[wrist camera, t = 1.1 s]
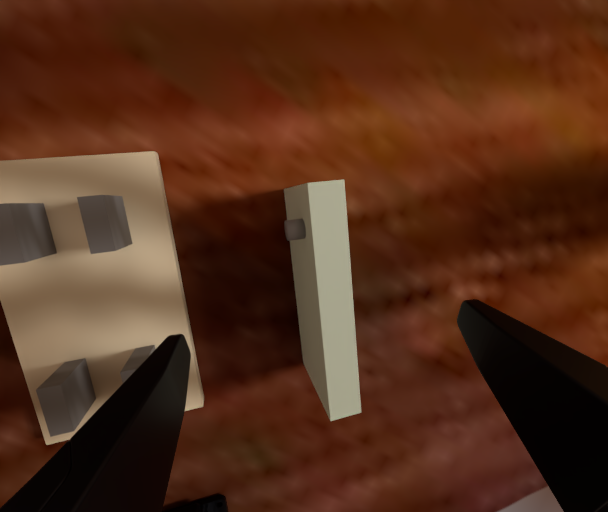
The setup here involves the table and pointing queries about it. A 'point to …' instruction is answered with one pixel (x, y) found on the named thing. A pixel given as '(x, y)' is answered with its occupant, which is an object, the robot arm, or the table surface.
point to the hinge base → (88, 279)
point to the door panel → (324, 292)
